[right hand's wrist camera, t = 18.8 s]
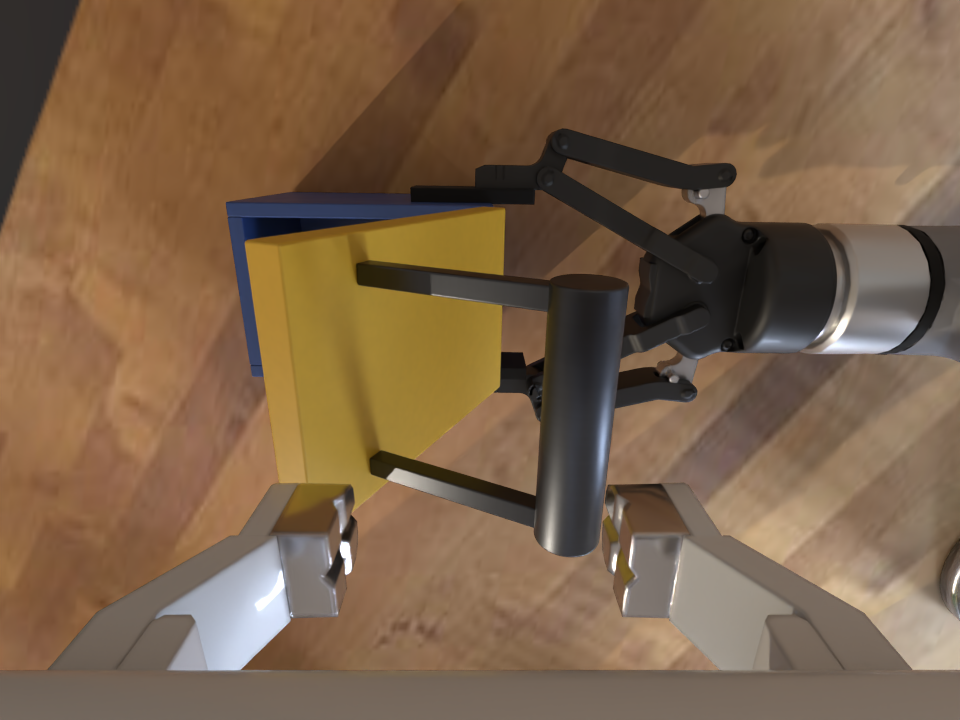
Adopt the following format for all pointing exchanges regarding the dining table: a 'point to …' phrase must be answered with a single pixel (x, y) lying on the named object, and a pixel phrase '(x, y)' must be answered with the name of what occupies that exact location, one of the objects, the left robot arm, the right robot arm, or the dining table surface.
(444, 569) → the dining table surface
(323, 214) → the chest
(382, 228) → the lid
